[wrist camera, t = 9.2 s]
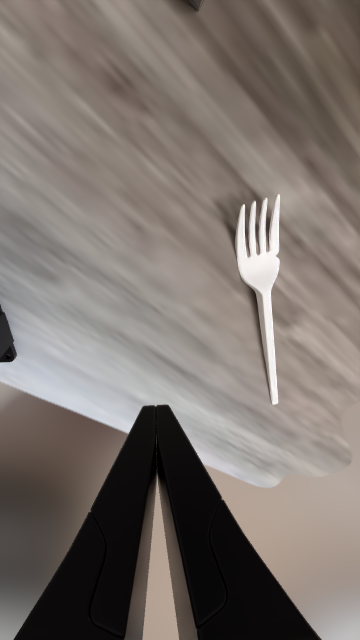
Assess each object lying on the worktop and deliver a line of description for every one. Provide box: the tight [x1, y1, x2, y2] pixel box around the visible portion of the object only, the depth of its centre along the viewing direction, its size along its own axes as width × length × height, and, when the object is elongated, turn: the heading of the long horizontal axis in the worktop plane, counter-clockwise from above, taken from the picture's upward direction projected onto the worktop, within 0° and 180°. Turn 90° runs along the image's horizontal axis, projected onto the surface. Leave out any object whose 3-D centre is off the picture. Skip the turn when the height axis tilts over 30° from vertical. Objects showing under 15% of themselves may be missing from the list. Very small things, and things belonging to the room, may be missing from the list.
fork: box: [235, 194, 280, 405], centre depth 22 cm, size 3×20×2 cm, turn 15°
